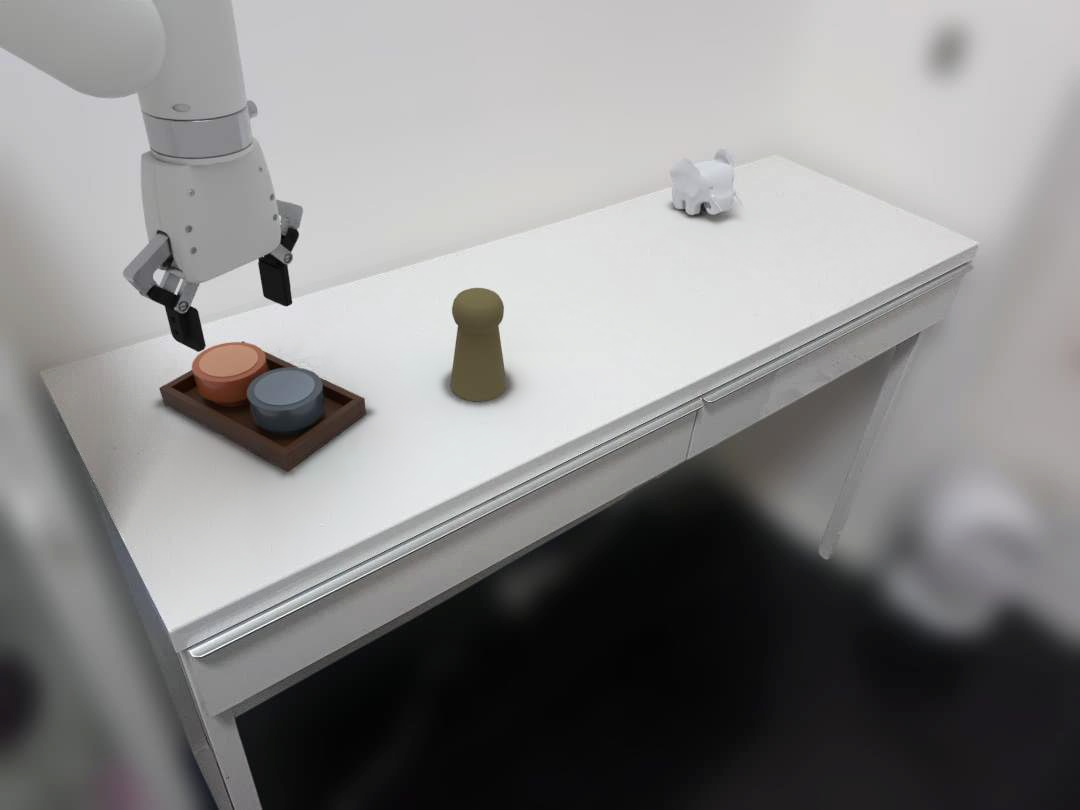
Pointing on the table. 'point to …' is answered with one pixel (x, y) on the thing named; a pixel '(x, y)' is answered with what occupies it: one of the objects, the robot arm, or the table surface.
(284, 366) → the tray
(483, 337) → the pepper shaker
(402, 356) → the table surface
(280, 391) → the slate dish
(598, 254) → the table surface
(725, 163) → the elephant figurine
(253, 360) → the terracotta dish
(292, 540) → the table surface
